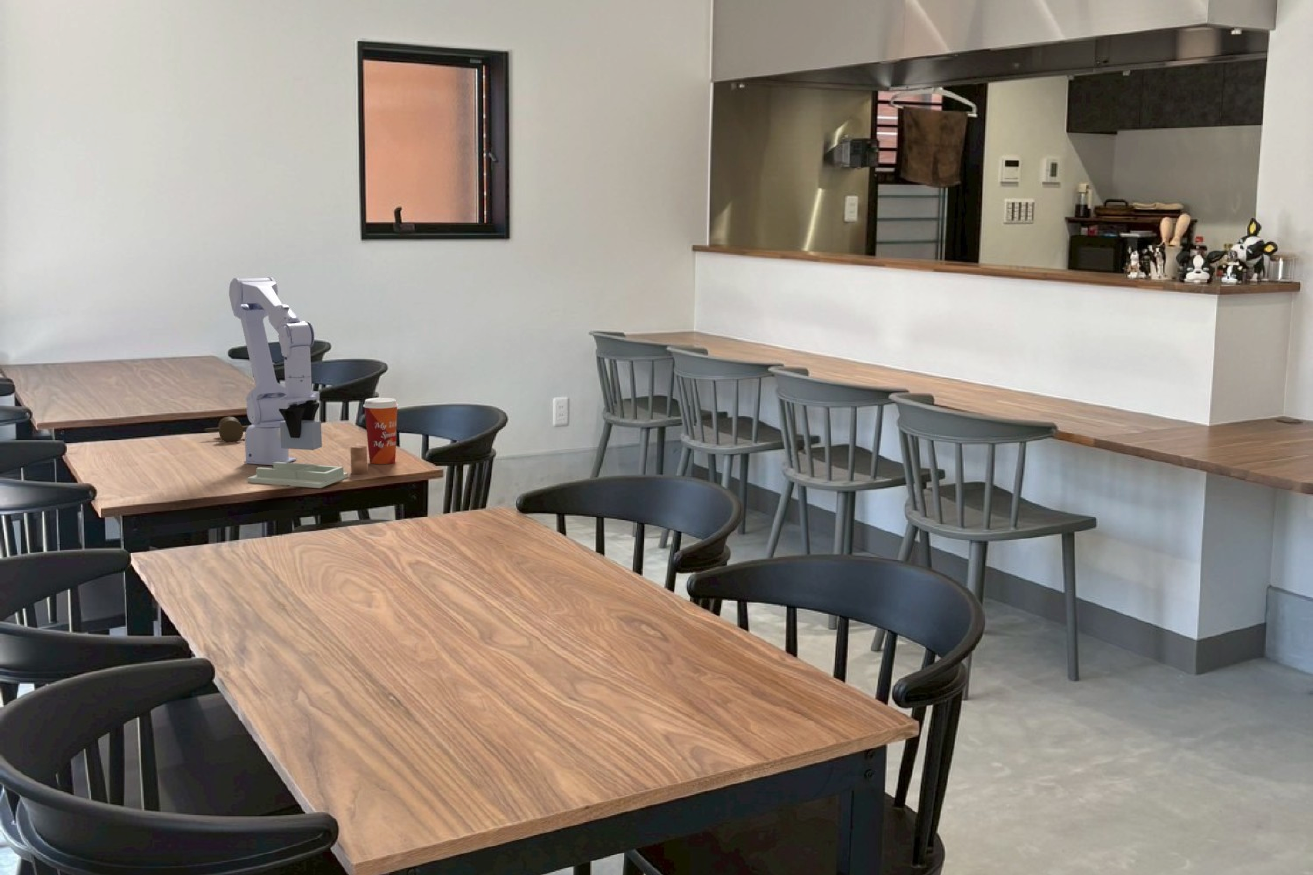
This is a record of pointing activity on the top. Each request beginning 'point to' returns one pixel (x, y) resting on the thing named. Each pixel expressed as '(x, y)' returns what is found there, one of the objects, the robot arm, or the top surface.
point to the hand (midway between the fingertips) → (300, 435)
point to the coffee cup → (381, 429)
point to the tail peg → (358, 460)
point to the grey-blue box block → (302, 436)
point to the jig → (298, 475)
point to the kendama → (229, 429)
